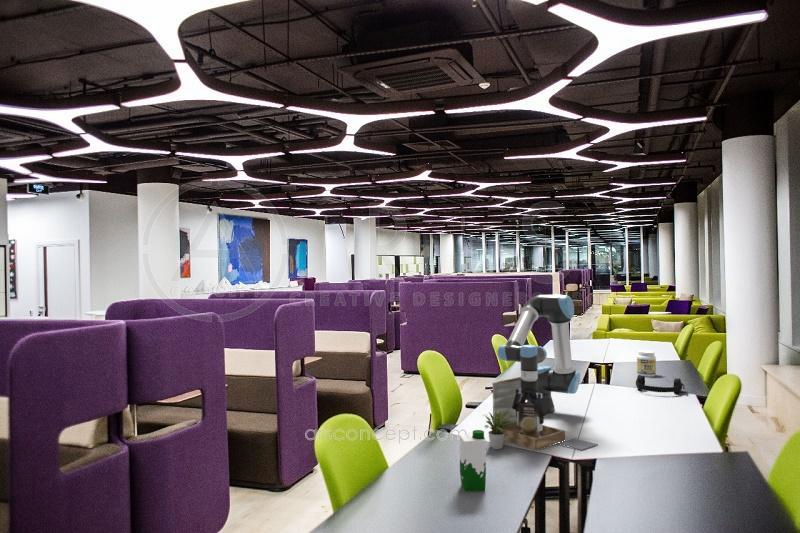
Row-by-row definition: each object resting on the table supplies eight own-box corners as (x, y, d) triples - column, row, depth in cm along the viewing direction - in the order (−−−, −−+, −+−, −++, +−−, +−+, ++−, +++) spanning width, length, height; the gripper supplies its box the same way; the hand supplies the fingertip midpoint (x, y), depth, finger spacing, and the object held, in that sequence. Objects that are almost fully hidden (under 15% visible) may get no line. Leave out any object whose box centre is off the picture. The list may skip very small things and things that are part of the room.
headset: (675, 387, 369) (675, 373, 369) (693, 396, 343) (693, 381, 343) (630, 387, 371) (630, 373, 371) (644, 396, 345) (644, 381, 345)
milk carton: (488, 492, 202) (487, 434, 202) (462, 493, 202) (462, 435, 202) (482, 482, 211) (482, 427, 211) (458, 483, 210) (457, 428, 210)
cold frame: (493, 436, 267) (492, 382, 267) (521, 428, 279) (520, 377, 279) (537, 450, 247) (536, 391, 247) (565, 440, 260) (564, 385, 260)
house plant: (491, 454, 242) (491, 415, 242) (472, 445, 254) (472, 408, 254) (518, 449, 248) (518, 411, 248) (498, 440, 260) (498, 404, 260)
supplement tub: (639, 376, 402) (639, 352, 402) (635, 373, 414) (635, 349, 414) (658, 377, 400) (657, 352, 400) (653, 374, 412) (653, 350, 412)
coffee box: (518, 440, 261) (518, 404, 261) (520, 436, 267) (520, 401, 267) (539, 442, 258) (538, 406, 258) (540, 438, 264) (540, 402, 264)
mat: (557, 444, 255) (557, 443, 255) (573, 439, 262) (573, 437, 262) (581, 451, 245) (581, 449, 245) (597, 445, 253) (597, 443, 253)
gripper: (503, 376, 269) (504, 424, 269) (545, 384, 251) (545, 435, 251) (514, 374, 274) (514, 421, 274) (555, 382, 256) (556, 432, 256)
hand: (529, 428), depth 263 cm, fingers closed on coffee box, 11 cm apart
